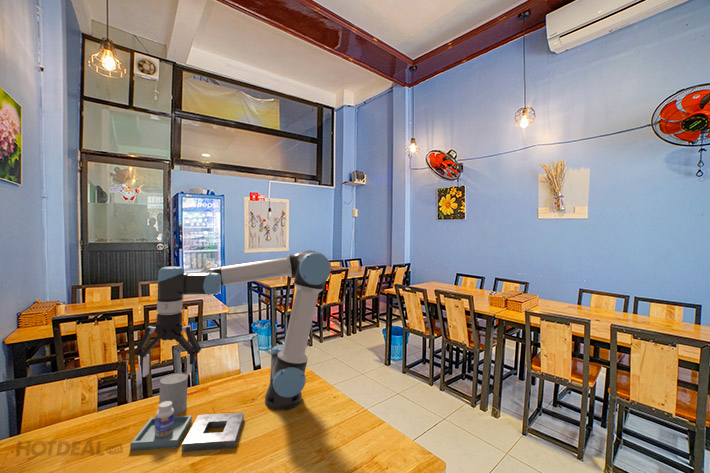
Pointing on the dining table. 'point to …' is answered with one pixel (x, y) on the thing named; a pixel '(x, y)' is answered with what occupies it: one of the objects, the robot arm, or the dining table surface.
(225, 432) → the socket plate
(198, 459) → the dining table surface
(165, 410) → the pill bottle
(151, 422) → the tray
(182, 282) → the robot arm
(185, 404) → the gray cylinder
